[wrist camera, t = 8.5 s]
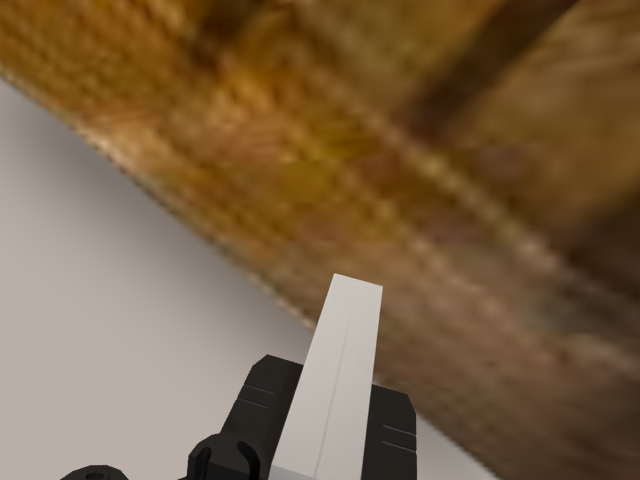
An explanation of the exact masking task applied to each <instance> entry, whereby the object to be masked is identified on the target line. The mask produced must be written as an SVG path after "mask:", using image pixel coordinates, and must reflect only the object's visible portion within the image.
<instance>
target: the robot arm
mask: <svg viewBox="0 0 640 480" xmlns="http://www.w3.org/2000/svg"><path fill="white" fill-rule="evenodd" d="M382 288H383V286H379V285H375V284H372V283H368V282H365V281H361V280H357V279H354V278H350V277H347V276H343V275H339V274H336V273H334V276H333V279H332V282H331V285H330V289H329V292H328V295H327V298H326V301H325V304H324V307H323V310H322V313H321V316H320V319H319V322H318V325H317V328H316V331H315V334H314V337H313V340H312V343H311V346H310V350H309V352H308V356H307V358H306V361H305V365H301V364H298V363H294V362H291V361H288V360H284V359H281V358H278V357H275V356H271V355H268V354H267V355H266V356H265V357H263V358H262V359H261V360H260V361H259V362H257V363H256V364H255V365H253V366H252V368H251V370H250V372H249V374H248V376H247V378H246V380H245V382H244V385H243V387H242V389H241V391H240V393H239V395H238V397H237V400H236V401H235V403H234V405H233V407H232V409H231V411H230V413H229V415H228V417H227V419H226V421H225V423H224V426H223V427H222V430H221V432H220V433H219V434H214V435H211V436H209V437H207V438H206V439H204V440H202V441H201V442H199V443H198V444H197V445H196V447H195V448H194V449H193V450H192V452H191V453H190V454H189V458H188V468H187V476H186V477H184V478H181V479H178V480H417V455H416V413H415V411H414V408H413V406H412V404H411V402H410V400H409V397H408V395H407V394H404V393H400V392H397V391H394V390H390V389H387V388H383V387H380V386H377V385H373V384H372V375H373V367H374V358H375V349H376V341H377V332H378V323H379V314H380V306H381V297H382ZM60 480H128V478H127V477H126V476H125V475H124V474H123V473H122V472H121V470H118V469H116V468H113V467H110V466H108V465H90V466H87V467H84V468H81V469H78V470H75V471H72V472H71V473H69V474H68V475H66V476H65V477H63V478H62V479H60Z"/></svg>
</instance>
